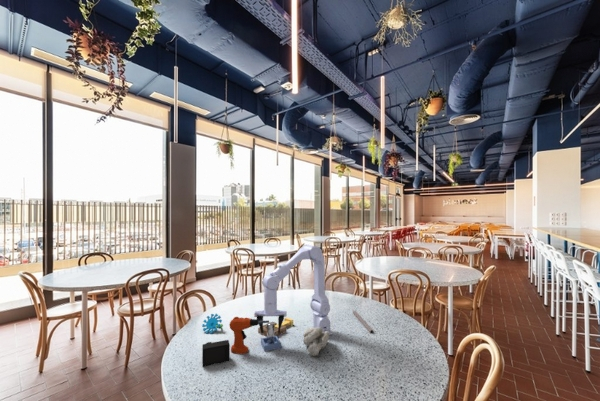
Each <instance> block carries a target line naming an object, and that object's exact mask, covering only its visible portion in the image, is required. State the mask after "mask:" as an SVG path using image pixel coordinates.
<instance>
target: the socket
mask: <svg viewBox="0 0 600 401" xmlns="http://www.w3.org/2000/svg"><path fill="white" fill-rule="evenodd" d="M272 322H273V323H275V325H277V324H278V323H277V322H275V321H272ZM257 328H258V329H257V332H258V334H260V335H262V336H263V337H267V323H265V324H263V334H261V329H260V326H258V327H257ZM288 328H290V326H289V324H288V325H286V326H283V325H281V328H280V333H278V328H276V329H275V336H277V337H278V336H280V335H282V334H285V333H286V332H287V330H288Z"/></svg>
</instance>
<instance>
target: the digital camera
mask: <svg viewBox="0 0 600 401" xmlns="http://www.w3.org/2000/svg"><path fill="white" fill-rule="evenodd" d="M201 352H202V358H201V360H202V362H201V363H202V368H205V367H210V366H214V365H218V364H224V363H228V362H230V358H231V357H230V352H231V346H230V340H229V339H225V340H220V341H213V342H211V341H208V342H206V343H203V344H202V348H201Z"/></svg>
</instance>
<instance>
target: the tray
mask: <svg viewBox="0 0 600 401" xmlns="http://www.w3.org/2000/svg"><path fill="white" fill-rule="evenodd" d="M260 345H261V347H262V349H263V352H266V351H267V352H268V351H272V350H278V349H281V348H282V342H281V341H280V339H279V337H278V336H275V343H273V344H267V336H265V337H261V338H260Z"/></svg>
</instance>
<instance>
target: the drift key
mask: <svg viewBox="0 0 600 401" xmlns="http://www.w3.org/2000/svg"><path fill="white" fill-rule="evenodd" d="M288 324H289V327H290V326H291V327H293V326H294V319H292V318H289V317H287V316H286V317H284V320H283V322H282V325H283V326H286V325H288ZM276 328H278V323H277V325H275V329H276Z"/></svg>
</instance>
